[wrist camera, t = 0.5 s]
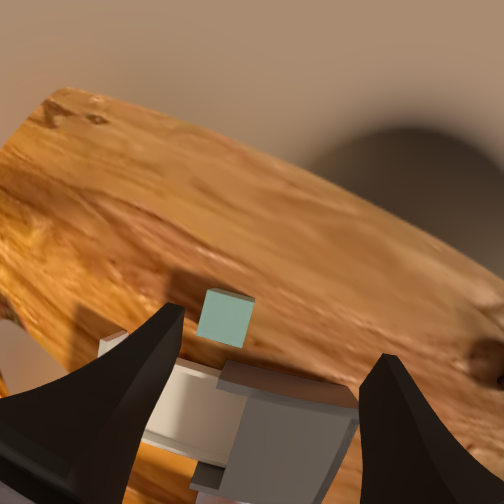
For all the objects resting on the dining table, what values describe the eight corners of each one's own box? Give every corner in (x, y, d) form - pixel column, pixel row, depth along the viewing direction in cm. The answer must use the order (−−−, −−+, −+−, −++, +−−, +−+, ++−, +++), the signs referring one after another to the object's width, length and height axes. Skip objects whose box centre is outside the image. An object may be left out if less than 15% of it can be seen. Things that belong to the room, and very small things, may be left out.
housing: (309, 480, 33) (315, 512, 26) (200, 457, 34) (188, 488, 27) (347, 386, 33) (364, 410, 27) (226, 358, 34) (218, 378, 27)
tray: (236, 465, 33) (232, 491, 27) (108, 422, 34) (88, 440, 28) (265, 374, 34) (265, 392, 28) (122, 330, 34) (100, 339, 29)
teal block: (244, 338, 34) (241, 348, 30) (204, 327, 35) (195, 335, 30) (255, 298, 35) (254, 302, 30) (214, 287, 35) (207, 289, 30)
